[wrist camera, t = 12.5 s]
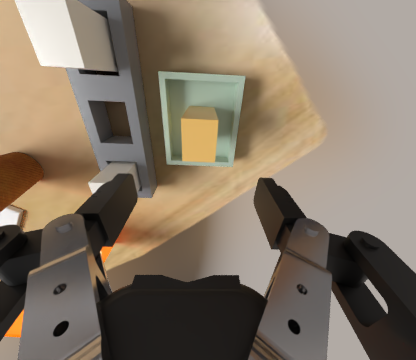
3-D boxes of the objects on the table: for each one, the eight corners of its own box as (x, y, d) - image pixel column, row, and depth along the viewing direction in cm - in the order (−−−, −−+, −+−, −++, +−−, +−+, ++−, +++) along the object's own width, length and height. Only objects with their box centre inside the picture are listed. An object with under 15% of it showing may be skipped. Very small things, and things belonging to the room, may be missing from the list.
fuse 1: (88, 24, 21) (9, -13, 13) (119, 26, 21) (62, -9, 13) (99, 70, 24) (40, 65, 15) (127, 72, 24) (84, 68, 15)
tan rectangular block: (189, 105, 26) (180, 118, 17) (214, 107, 26) (218, 120, 17) (189, 136, 28) (182, 161, 20) (212, 138, 29) (215, 162, 20)
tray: (163, 72, 24) (158, 71, 21) (241, 76, 24) (245, 76, 22) (170, 157, 31) (166, 164, 28) (230, 159, 31) (232, 166, 29)
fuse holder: (66, 1, 20) (37, -15, 17) (132, 6, 20) (117, -9, 17) (118, 185, 34) (109, 196, 31) (157, 186, 34) (151, 197, 31)
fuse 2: (120, 154, 31) (88, 182, 22) (142, 154, 31) (118, 183, 22) (126, 177, 33) (99, 210, 25) (146, 177, 33) (125, 211, 25)
